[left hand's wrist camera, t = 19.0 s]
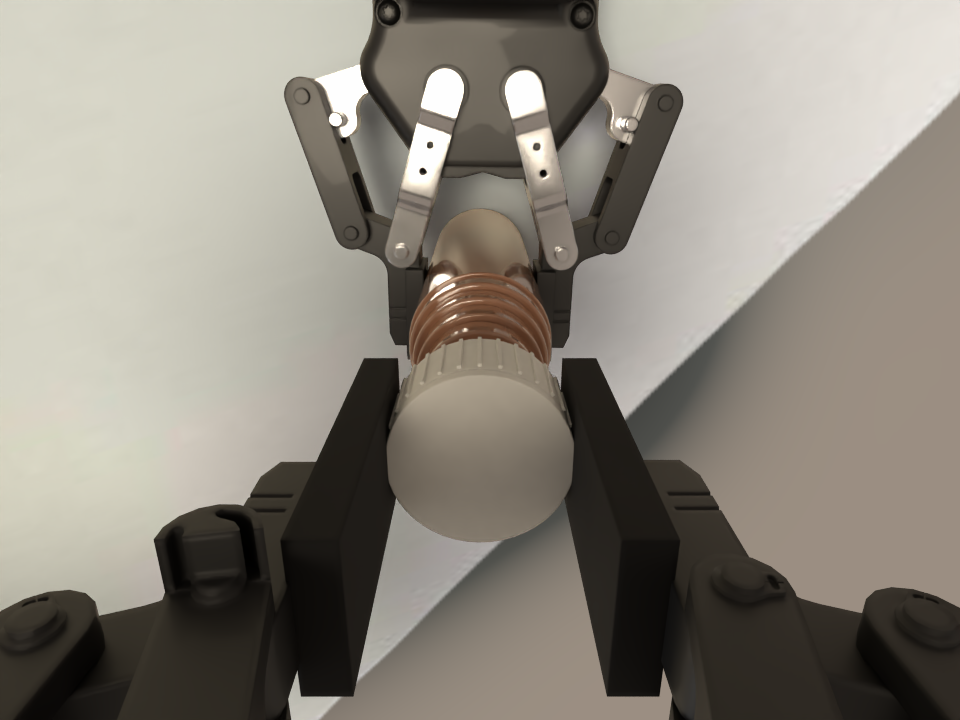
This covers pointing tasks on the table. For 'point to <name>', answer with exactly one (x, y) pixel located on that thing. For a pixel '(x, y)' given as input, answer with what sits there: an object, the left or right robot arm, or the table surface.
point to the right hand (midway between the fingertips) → (479, 352)
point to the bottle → (480, 289)
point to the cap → (480, 441)
